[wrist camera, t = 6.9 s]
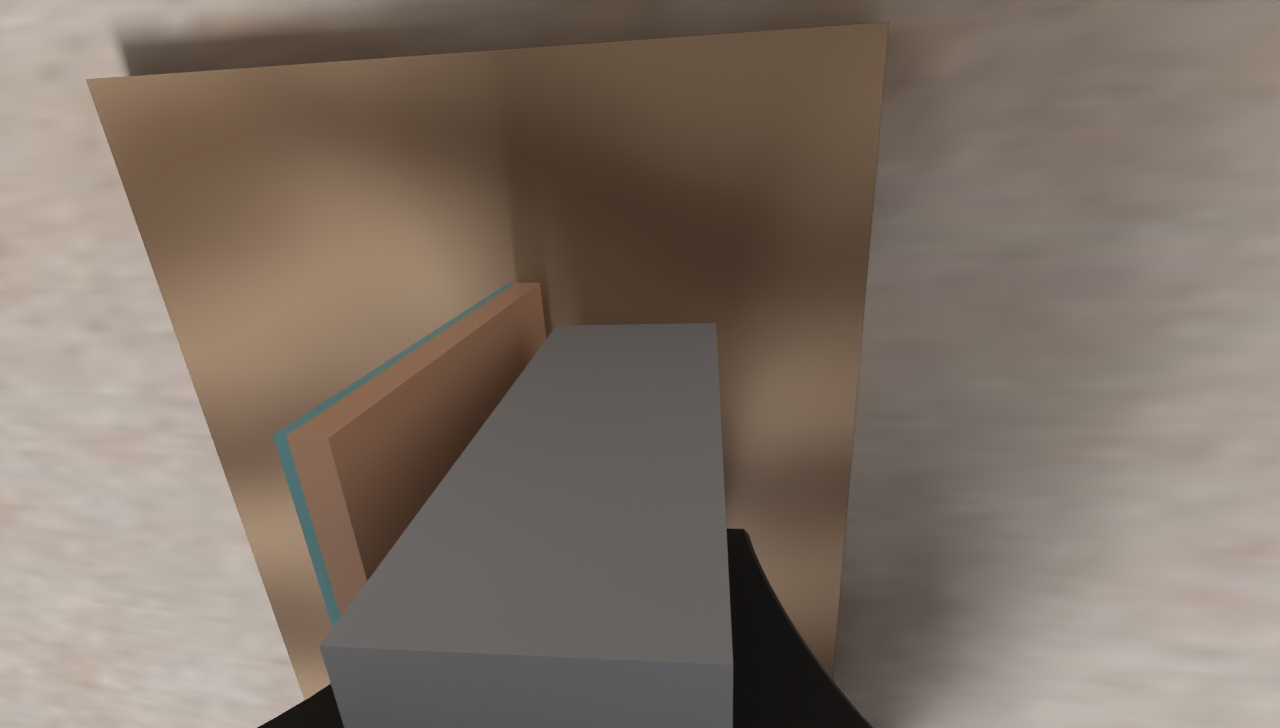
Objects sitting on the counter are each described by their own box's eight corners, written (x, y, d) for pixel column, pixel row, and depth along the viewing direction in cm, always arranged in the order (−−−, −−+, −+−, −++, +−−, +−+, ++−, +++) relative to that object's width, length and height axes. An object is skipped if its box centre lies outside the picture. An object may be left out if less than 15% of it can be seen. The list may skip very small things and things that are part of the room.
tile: (459, 917, 11) (419, 908, 11) (578, 611, 18) (552, 609, 18) (327, 438, 8) (273, 435, 8) (540, 282, 14) (508, 283, 15)
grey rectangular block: (716, 614, 16) (728, 1144, 8) (585, 610, 16) (461, 1108, 8) (716, 323, 13) (733, 665, 5) (556, 325, 14) (318, 646, 5)
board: (821, 696, 21) (828, 728, 20) (324, 672, 23) (305, 701, 22) (873, 29, 13) (888, 21, 12) (130, 81, 15) (85, 79, 14)
